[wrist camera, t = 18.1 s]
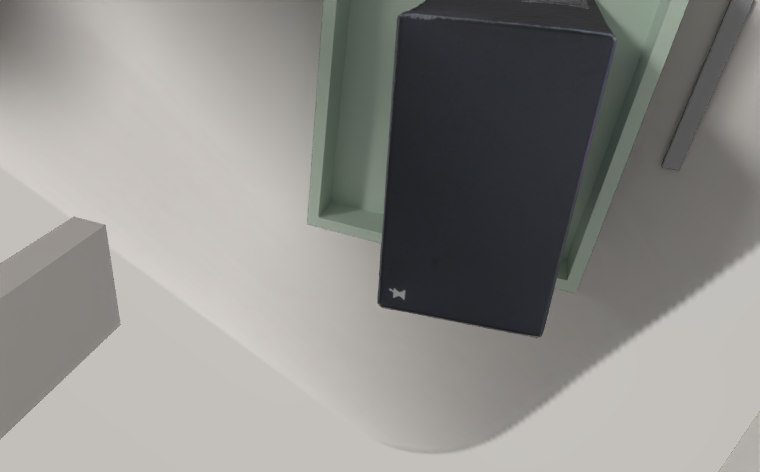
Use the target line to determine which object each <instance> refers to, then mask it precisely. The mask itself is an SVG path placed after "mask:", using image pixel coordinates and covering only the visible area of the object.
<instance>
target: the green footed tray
mask: <svg viewBox="0 0 760 472" xmlns="http://www.w3.org/2000/svg"><path fill="white" fill-rule="evenodd" d="M424 1H425V0H323V12H322V26H321V40H320V53H319V67H318V81H317V94H316V108H315V122H314V136H313V149H312V163H311V177H310V191H309V204H308V218H307V225H311V226H315V227H319V228H323V229H327V230H331V231H335V232H338V233H342V234H346V235H350V236H354V237H358V238H362V239H366V240H370V241H374V242H377V243H381V242H382V227H383V215H384V198H385V182H386V165H387V153H388V140H389V126H390V113H391V96H392V81H393V69H394V55H395V40H396V28H397V17H398V15H399V14H401V13H403V12H405V11H409V10H411V9H412V8H415V7H417V6H418V5H419V4H421V3H423V2H424ZM595 1H596V3H597V5H598V7H599V9H600V11H601V13H602V15H603V17H604V19H605V20H606V22H607V24H608V26H609V27H610V29H611V31H612V32H613V34H614V35H615V37H616V39H617V43H616V47H615V52H614V56H613V60H612V64H611V68H610V72H609V75H608V79H607V83H606V87H605V91H604V95H603V99H602V103H601V106H600V110H599V114H598V118H597V122H596V126H595V129H594V133H593V137H592V141H591V145H590V149H589V153H588V157H587V161H586V165H585V169H584V173H583V177H582V180H581V184H580V188H579V192H578V196H577V200H576V204H575V208H574V212H573V216H572V220H571V223H570V227H569V231H568V235H567V239H566V243H565V247H564V251H563V255H562V259H561V263H560V267H559V271H558V275H557V279H556V283H555V287H554V288H556V289H560V290H564V291H568V292H572V293H576V292H577V289H578V287H579V284H580V281H581V279H582V276H583V274H584V271H585V269H586V266H587V263H588V261H589V258H590V256H591V253H592V250H593V248H594V245H595V243H596V240H597V237H598V235H599V232H600V230H601V227H602V224H603V222H604V219H605V217H606V214H607V212H608V209H609V206H610V204H611V201H612V199H613V196H614V193H615V191H616V188H617V186H618V183H619V180H620V178H621V175H622V173H623V170H624V167H625V165H626V162H627V160H628V157H629V154H630V152H631V149H632V147H633V144H634V142H635V139H636V136H637V134H638V131H639V129H640V126H641V123H642V121H643V118H644V116H645V113H646V110H647V108H648V105H649V103H650V100H651V97H652V95H653V92H654V90H655V87H656V85H657V82H658V79H659V77H660V74H661V72H662V69H663V66H664V64H665V61H666V59H667V56H668V53H669V51H670V48H671V46H672V43H673V40H674V38H675V35H676V33H677V30H678V27H679V25H680V22H681V20H682V17H683V15H684V12H685V9H686V7H687V4H688V2H689V0H595Z"/></svg>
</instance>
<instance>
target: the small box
mask: <svg viewBox="0 0 760 472" xmlns="http://www.w3.org/2000/svg"><path fill="white" fill-rule="evenodd" d="M616 43H617V39H616V37H615V35H614V34H613V32H612V31H611V29H610V27H609V26H608V24H607V22H606V20H605V19H604V17H603V15H602V13H601V11H600V9H599V7H598V5H597V3H596V1H595V0H425V1H424V2H423V3H421V4H419V5H418V6H417V7H415V8H412V9H411V10H409V11H405V12H403V13H401V14H399V15H398V17H397V28H396V40H395V55H394V69H393V81H392V96H391V113H390V126H389V140H388V153H387V165H386V182H385V198H384V215H383V227H382V242H381V255H380V271H379V288H378V304H379V306H381V307H382V308H386V309H391V310H398V311H402V312H409V313H413V314H418V315H424V316H428V317H433V318H438V319H444V320H449V321H454V322H459V323H464V324H468V325H475V326H479V327H484V328H489V329H494V330H499V331H505V332H509V333H515V334H520V335H526V336H531V337H536V338H538V337H541V336H542V334H543V331H544V328H545V324H546V319H547V315H548V311H549V307H550V303H551V299H552V295H553V291H554V287H555V283H556V279H557V275H558V271H559V267H560V263H561V259H562V255H563V251H564V247H565V243H566V239H567V235H568V231H569V227H570V223H571V220H572V216H573V212H574V208H575V204H576V200H577V196H578V192H579V188H580V184H581V180H582V177H583V173H584V169H585V165H586V161H587V157H588V153H589V149H590V145H591V141H592V137H593V133H594V129H595V126H596V122H597V118H598V114H599V110H600V106H601V103H602V99H603V95H604V91H605V87H606V83H607V79H608V75H609V72H610V68H611V64H612V60H613V56H614V52H615V47H616Z"/></svg>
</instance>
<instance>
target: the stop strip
mask: <svg viewBox="0 0 760 472" xmlns="http://www.w3.org/2000/svg"><path fill="white" fill-rule="evenodd" d="M753 1H754V0H731V1H730V3H729V6H728V8H727V11H726V13H725V15H724V18H723V20H722V23H721V25H720V27H719V30H718V32H717V35H716V37H715V39H714V42H713V44H712V46H711V49H710V51H709V54H708V56H707V58H706V61H705V63H704V66H703V68H702V70H701V73H700V75H699V78H698V80H697V82H696V85H695V87H694V89H693V92H692V94H691V97H690V99H689V101H688V104H687V106H686V109H685V111H684V113H683V116H682V118H681V121H680V123H679V125H678V128H677V130H676V133H675V135H674V137H673V140H672V142H671V144H670V147H669V149H668V152H667V154H666V156H665V159H664V161H663V164H662V167H664V168H669V169H674V170H680V167H681V165H682V163H683V161H684V158H685V156H686V154H687V151H688V149H689V147H690V145H691V142H692V140H693V138H694V135H695V133H696V131H697V129H698V126H699V124H700V122H701V119H702V117H703V115H704V113H705V110H706V108H707V106H708V103H709V101H710V99H711V97H712V94H713V92H714V90H715V87H716V85H717V83H718V81H719V78H720V76H721V74H722V72H723V69H724V67H725V65H726V62H727V60H728V58H729V56H730V53H731V51H732V49H733V46H734V44H735V42H736V40H737V37H738V35H739V33H740V30H741V28H742V26H743V24H744V21H745V19H746V17H747V14H748V12H749V10H750V8H751V5H752V3H753Z"/></svg>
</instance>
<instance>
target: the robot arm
mask: <svg viewBox="0 0 760 472" xmlns="http://www.w3.org/2000/svg"><path fill="white" fill-rule="evenodd" d="M119 326H120V318H119V312H118V305H117V298H116V291H115V285H114V278H113V272H112V265H111V259H110V252H109V245H108V238H107V232H106V225H104V224H100V223H96V222H92V221H89V220H85V219H81V218H77V217H73V218H71V219H69V220H68V221H66V222H65V223H63V224H62V225H60V226H58V227H57V228H55V229H54V230H53V231H51V232H49V233H48V234H46V235H44V236H43V237H41V238H40V239H38V240H37V241H35V242H33V243H32V244H30V245H29V246H27V247H26V248H24V249H22V250H21V251H19V252H18V253H16V254H14V255H13V256H11V257H10V258H8V259H7V260H5V261H4V262H2V263H0V439H1V438H2V437H3V436H4V435H5V434H6V433H7V432H8V431H10V430H11V429H12V427H14V426H15V425H16V424H17V423H18V422H19V421H20V420H21V419H22V418H23V417H24V416H25V415H26V414H27V413H28V412H30V411H31V409H32V408H34V407H35V406H36V405H37V404H38V403H39V402H40V401H41V400H42V399H43V398H44V397H45V396H46V395H47V394H48V393H49V392H50V391H52V390H53V389H54V388H55V387H56V386H57V385H58V384H59V383H60V382H61V381H62V380H63V379H64V378H65V377H66V376H67V375H68V374H69V373H70V372H71V371H72V370H74V369H75V367H77V366H78V365H79V364H80V363H81V362H82V361H83V360H84V359H85V358H86V357H87V356H88V355H89V354H90V353H91V352H92V351H93V350H95V349H96V348H97V347H98V345H100V344H101V343H102V342H103V341H104V340H105V339H106V338H107V337H108V336H109V335H110V334H111V333H112V332H113V331H114V330H116V329H117V328H118V327H119ZM719 472H760V412H759V413H758V414H757V416H756V418H755V419H754V420H753V422H752V424H751V425H750V426H749V428H748V429H747V431H746V432H745V434H744V435H743V437H742V438H741V440H740V441H739V443H738V444H737V445H736V447H735V448H734V450H733V451H732V453H731V454H730V456H729V457H728V459H727V460H726V462H725V463H724V465H723V466H722V468H721V469H720V470H719Z"/></svg>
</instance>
